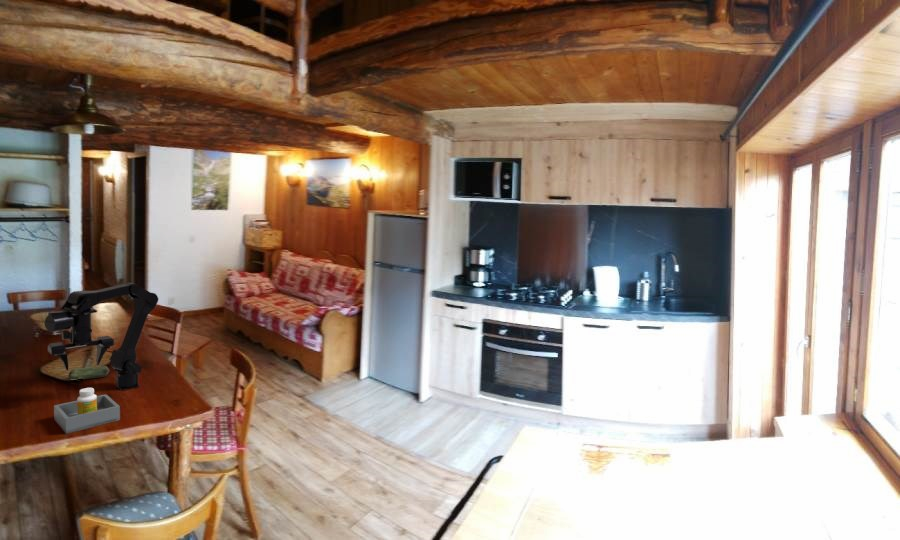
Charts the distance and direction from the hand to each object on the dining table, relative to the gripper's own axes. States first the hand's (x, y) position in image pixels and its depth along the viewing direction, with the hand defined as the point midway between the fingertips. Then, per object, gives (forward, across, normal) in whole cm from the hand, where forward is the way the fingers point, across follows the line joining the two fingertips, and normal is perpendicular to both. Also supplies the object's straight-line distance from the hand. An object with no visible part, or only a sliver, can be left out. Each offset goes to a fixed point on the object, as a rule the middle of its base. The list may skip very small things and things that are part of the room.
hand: (82, 367), depth 178 cm
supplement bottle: (+12, +3, +18) cm, 22 cm away
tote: (+13, +4, +18) cm, 22 cm away
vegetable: (+13, -8, -24) cm, 29 cm away
